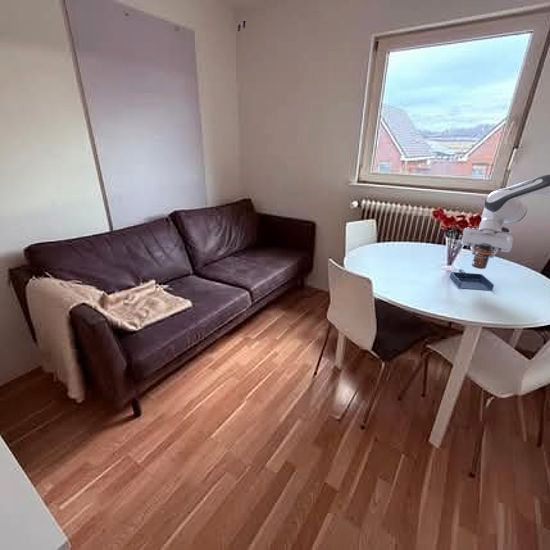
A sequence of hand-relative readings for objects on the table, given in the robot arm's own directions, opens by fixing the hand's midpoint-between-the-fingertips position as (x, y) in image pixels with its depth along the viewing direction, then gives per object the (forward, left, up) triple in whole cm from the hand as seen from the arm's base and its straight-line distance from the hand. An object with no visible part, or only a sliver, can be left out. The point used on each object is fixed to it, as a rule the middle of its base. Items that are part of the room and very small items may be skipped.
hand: (482, 255), depth 145 cm
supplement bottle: (0, -1, -6) cm, 6 cm away
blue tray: (+4, -6, -16) cm, 18 cm away
